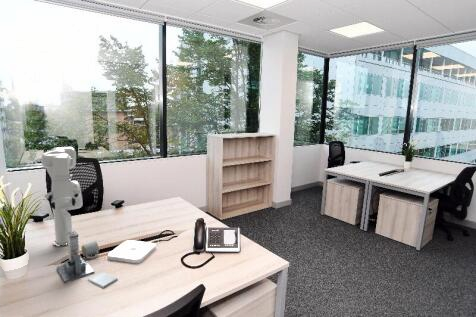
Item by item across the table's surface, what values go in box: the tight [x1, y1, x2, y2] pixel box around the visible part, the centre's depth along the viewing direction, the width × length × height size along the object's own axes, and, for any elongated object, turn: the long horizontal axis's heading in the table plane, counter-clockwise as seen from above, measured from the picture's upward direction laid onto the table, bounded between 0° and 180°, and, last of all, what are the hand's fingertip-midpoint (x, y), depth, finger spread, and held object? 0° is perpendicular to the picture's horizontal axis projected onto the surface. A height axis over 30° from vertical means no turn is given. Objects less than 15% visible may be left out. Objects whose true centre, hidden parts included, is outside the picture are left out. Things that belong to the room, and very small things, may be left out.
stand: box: [56, 252, 95, 284], centre depth 151 cm, size 18×14×12 cm
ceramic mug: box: [81, 240, 100, 260], centre depth 167 cm, size 11×8×8 cm
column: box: [67, 230, 80, 263], centre depth 149 cm, size 6×4×15 cm, turn 44°
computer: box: [107, 239, 157, 264], centre depth 173 cm, size 22×22×3 cm
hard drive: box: [87, 271, 119, 289], centre depth 143 cm, size 2×8×12 cm
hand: (63, 207), depth 158 cm, fingers open, 9 cm apart
